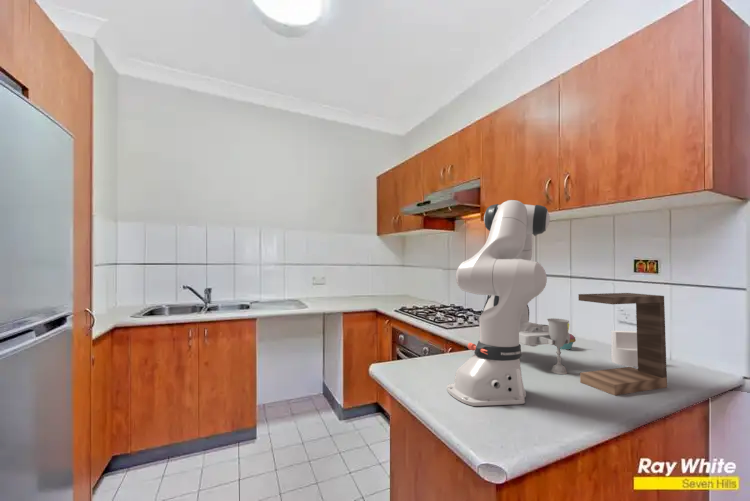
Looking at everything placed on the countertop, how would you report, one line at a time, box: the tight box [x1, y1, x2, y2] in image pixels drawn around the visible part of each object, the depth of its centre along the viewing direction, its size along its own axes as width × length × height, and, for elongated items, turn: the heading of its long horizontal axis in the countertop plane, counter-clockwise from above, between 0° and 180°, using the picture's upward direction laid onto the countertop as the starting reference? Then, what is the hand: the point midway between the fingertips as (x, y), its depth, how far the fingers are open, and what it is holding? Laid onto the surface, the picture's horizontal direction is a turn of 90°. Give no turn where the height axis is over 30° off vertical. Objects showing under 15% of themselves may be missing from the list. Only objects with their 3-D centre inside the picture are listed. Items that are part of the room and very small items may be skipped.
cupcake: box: [560, 322, 576, 350], centre depth 148 cm, size 9×8×12 cm
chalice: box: [546, 317, 570, 375], centre depth 115 cm, size 7×7×18 cm
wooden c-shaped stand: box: [578, 292, 668, 396], centre depth 103 cm, size 22×11×28 cm, turn 108°
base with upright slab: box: [610, 330, 638, 368], centre depth 126 cm, size 9×9×12 cm
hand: (560, 342), depth 114 cm, fingers closed on chalice, 5 cm apart
